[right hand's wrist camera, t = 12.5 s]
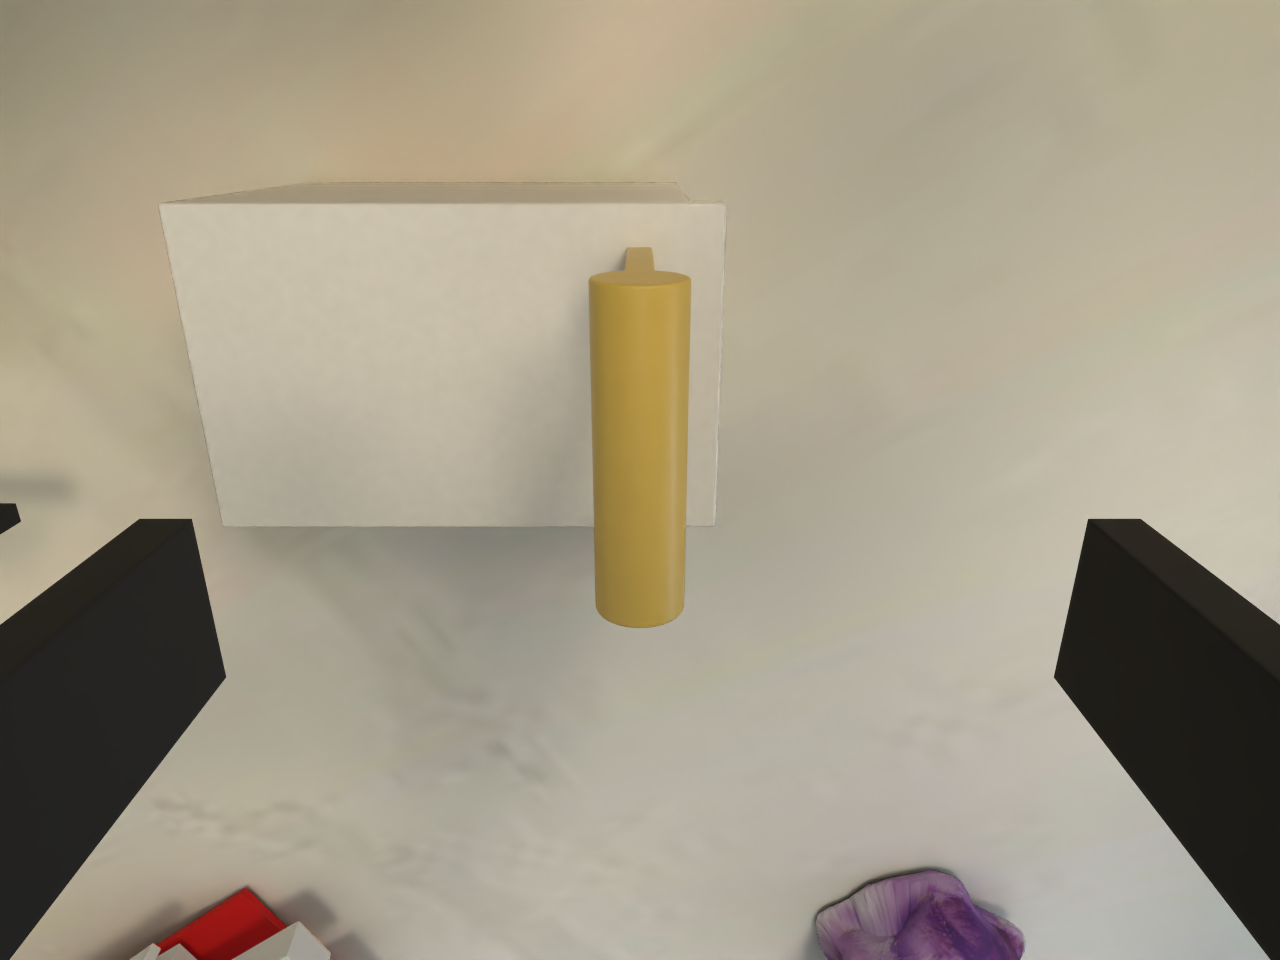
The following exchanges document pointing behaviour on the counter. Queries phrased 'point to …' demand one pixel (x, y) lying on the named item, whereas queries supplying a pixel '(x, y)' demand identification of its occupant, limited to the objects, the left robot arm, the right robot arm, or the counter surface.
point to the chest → (460, 192)
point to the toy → (238, 936)
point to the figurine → (916, 923)
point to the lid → (464, 370)
